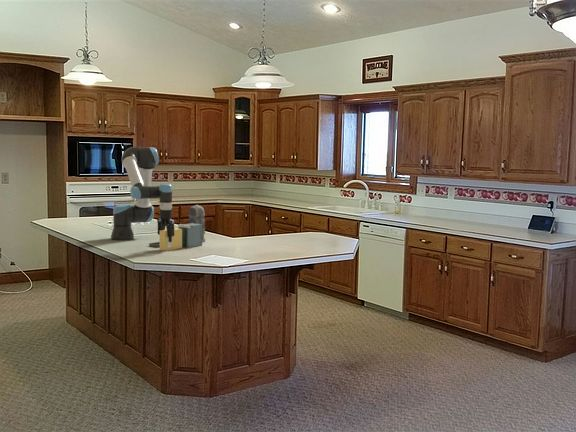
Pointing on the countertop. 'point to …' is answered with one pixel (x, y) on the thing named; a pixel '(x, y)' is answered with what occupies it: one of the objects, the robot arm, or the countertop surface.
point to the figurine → (197, 217)
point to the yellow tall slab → (176, 239)
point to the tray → (155, 244)
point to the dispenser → (191, 234)
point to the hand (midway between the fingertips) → (165, 246)
